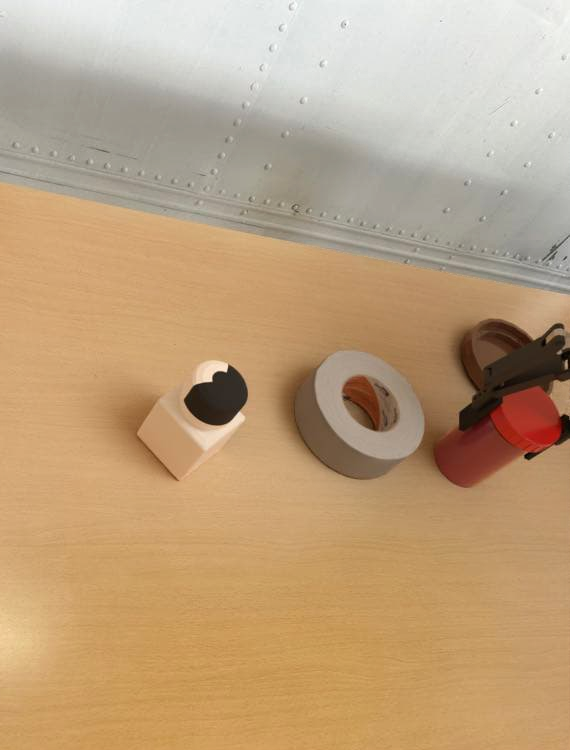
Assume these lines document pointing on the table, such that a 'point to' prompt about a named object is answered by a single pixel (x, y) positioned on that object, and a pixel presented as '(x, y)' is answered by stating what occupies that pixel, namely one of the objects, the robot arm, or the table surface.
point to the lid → (528, 420)
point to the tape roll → (341, 431)
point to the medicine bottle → (196, 417)
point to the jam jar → (474, 453)
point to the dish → (493, 347)
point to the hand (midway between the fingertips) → (494, 436)
